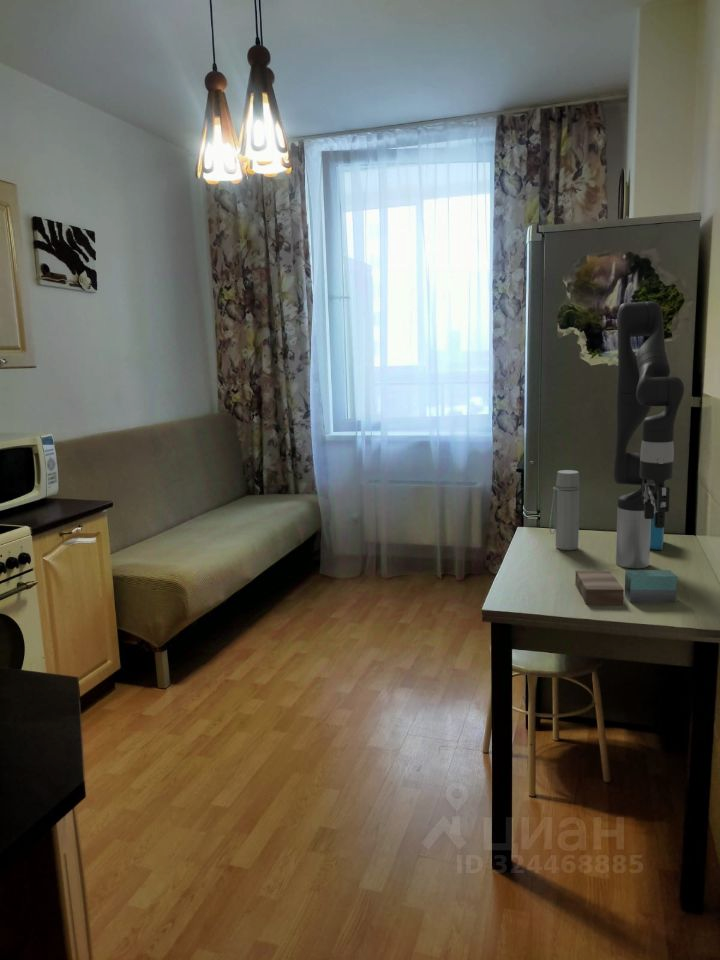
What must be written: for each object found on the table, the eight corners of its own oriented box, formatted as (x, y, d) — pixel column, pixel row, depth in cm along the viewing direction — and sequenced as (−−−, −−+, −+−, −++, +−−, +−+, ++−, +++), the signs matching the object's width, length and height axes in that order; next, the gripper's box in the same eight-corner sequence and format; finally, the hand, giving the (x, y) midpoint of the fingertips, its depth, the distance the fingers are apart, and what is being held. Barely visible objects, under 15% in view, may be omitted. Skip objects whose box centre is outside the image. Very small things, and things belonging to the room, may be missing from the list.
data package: (648, 540, 225) (649, 505, 223) (663, 541, 223) (664, 505, 221) (646, 550, 215) (648, 513, 213) (662, 551, 213) (663, 514, 211)
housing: (624, 596, 176) (625, 570, 175) (668, 596, 175) (669, 570, 174) (630, 602, 172) (630, 576, 170) (675, 603, 170) (676, 576, 169)
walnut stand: (575, 584, 186) (575, 570, 185) (609, 584, 185) (610, 570, 184) (585, 604, 171) (586, 589, 171) (623, 604, 170) (623, 589, 169)
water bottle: (575, 544, 223) (577, 469, 219) (581, 551, 216) (582, 473, 211) (547, 544, 224) (548, 470, 220) (551, 551, 217) (552, 474, 212)
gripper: (633, 454, 174) (630, 516, 177) (649, 464, 160) (646, 530, 163) (663, 454, 173) (660, 516, 176) (682, 463, 159) (679, 530, 162)
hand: (653, 523), depth 170 cm, fingers open, 8 cm apart
